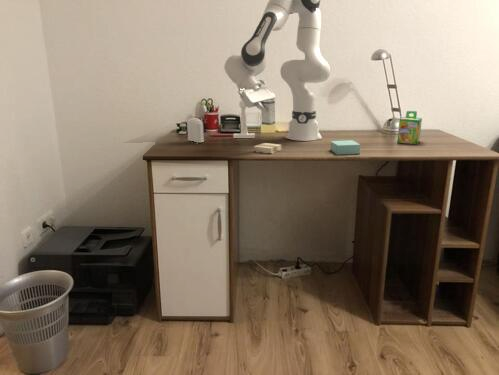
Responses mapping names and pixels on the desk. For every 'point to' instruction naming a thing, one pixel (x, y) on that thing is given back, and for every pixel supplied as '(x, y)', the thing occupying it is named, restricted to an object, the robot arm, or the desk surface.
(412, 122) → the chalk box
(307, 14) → the robot arm
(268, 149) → the stand
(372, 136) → the desk surface
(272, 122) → the block
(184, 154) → the desk surface
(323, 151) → the desk surface
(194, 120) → the grey arched block
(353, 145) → the stand
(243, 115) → the joystick
